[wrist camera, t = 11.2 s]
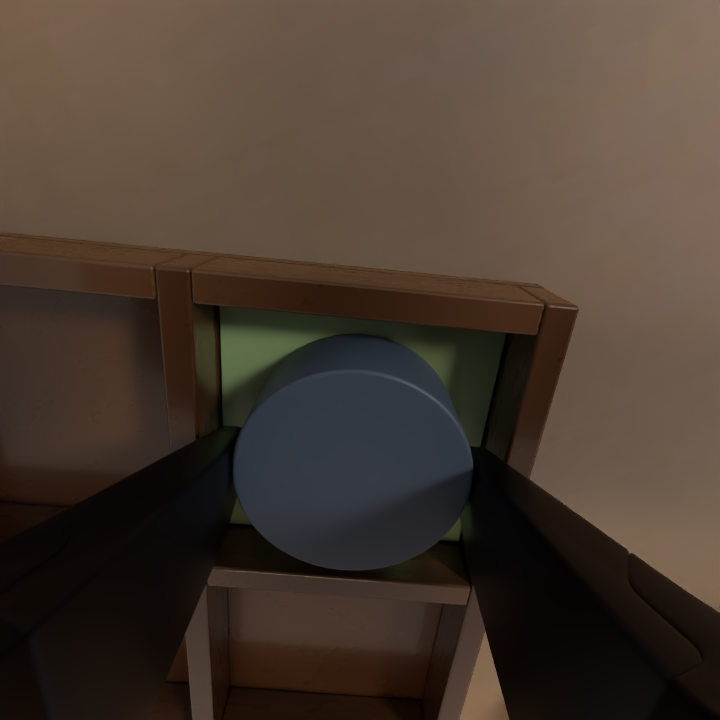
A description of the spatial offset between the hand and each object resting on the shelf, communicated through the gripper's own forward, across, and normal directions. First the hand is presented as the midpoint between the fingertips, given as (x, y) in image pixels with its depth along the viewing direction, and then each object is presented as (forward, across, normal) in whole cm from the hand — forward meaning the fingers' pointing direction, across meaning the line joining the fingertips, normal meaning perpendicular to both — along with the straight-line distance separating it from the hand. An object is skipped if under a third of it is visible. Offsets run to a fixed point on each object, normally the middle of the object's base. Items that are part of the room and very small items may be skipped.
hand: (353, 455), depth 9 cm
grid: (+2, +3, +3) cm, 5 cm away
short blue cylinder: (+1, 0, 0) cm, 1 cm away
